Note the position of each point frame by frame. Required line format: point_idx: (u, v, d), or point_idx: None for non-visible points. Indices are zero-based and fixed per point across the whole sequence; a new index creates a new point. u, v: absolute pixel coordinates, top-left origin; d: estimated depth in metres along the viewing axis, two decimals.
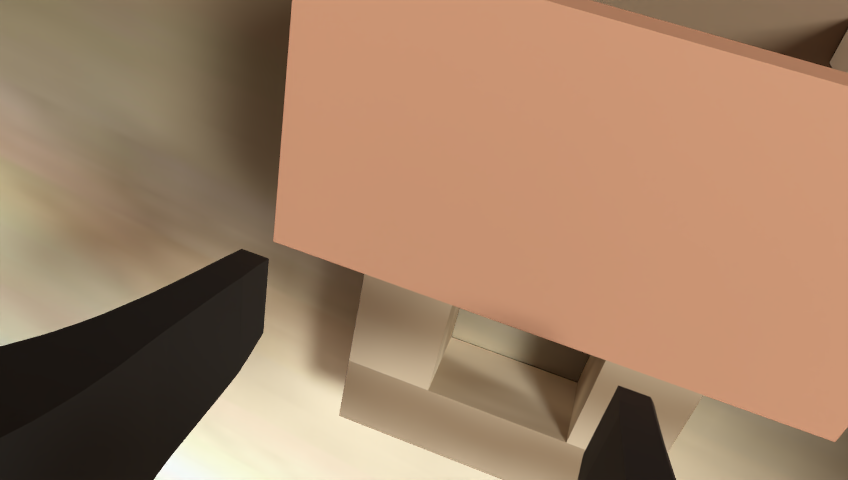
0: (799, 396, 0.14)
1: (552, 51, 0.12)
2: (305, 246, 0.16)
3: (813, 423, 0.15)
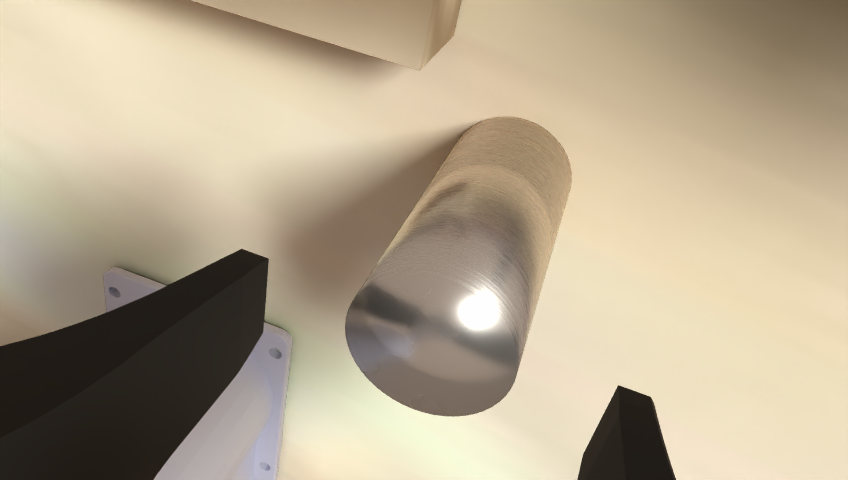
0: None
1: None
2: None
3: None
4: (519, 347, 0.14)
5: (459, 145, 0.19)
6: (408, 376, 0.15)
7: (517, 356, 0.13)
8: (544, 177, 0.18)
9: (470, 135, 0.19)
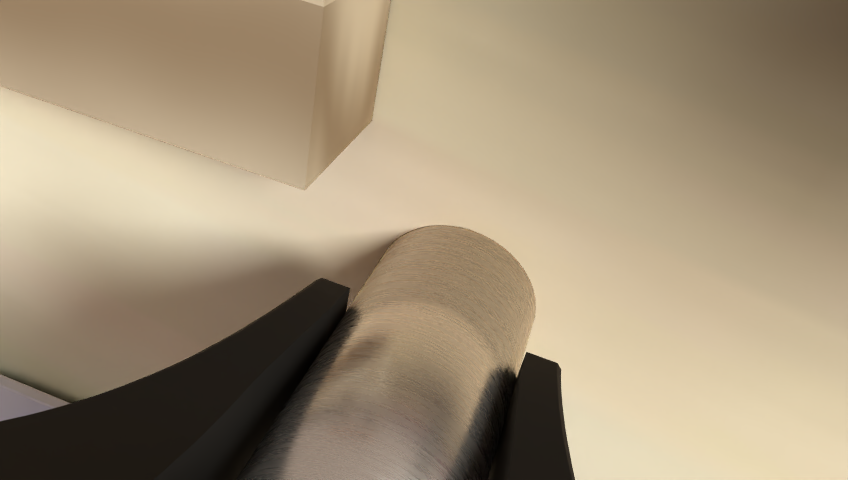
0: None
1: None
2: None
3: None
4: None
5: (380, 269, 0.14)
6: None
7: None
8: (489, 328, 0.13)
9: (396, 254, 0.14)
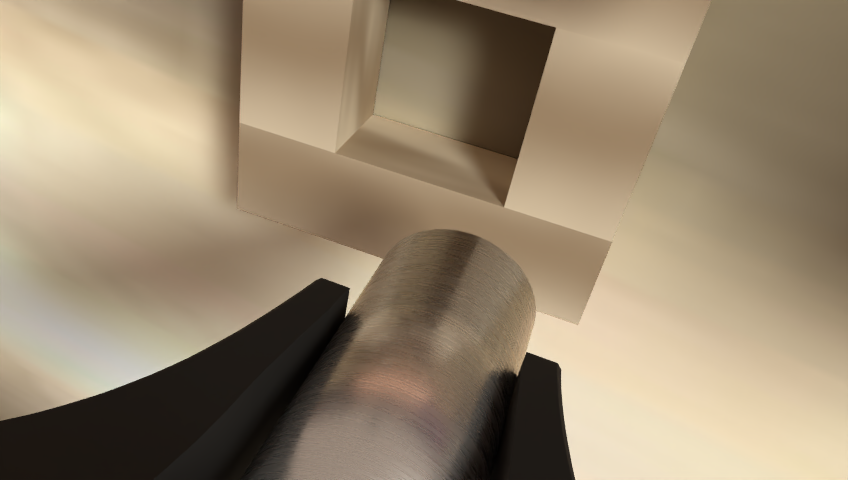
0: None
1: None
2: None
3: None
4: None
5: (378, 274, 0.14)
6: None
7: None
8: (487, 328, 0.13)
9: (393, 259, 0.14)
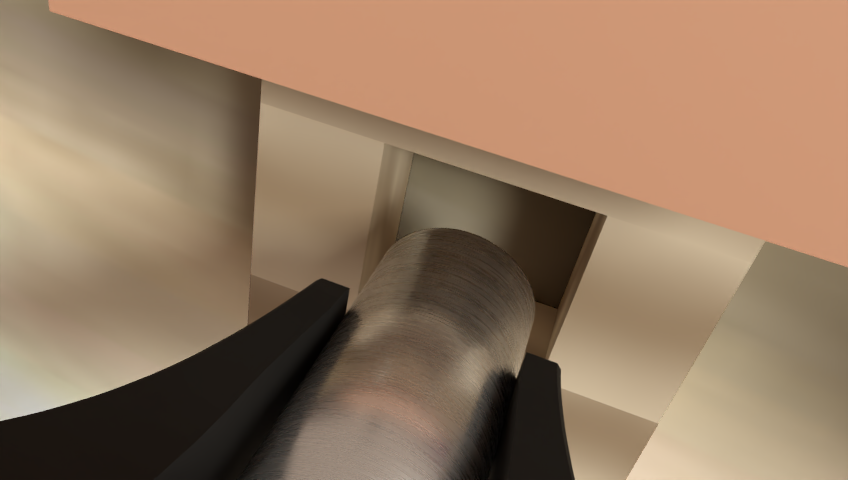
0: None
1: None
2: (97, 14, 0.10)
3: None
4: None
5: (376, 273, 0.14)
6: None
7: None
8: (485, 326, 0.13)
9: (392, 258, 0.14)
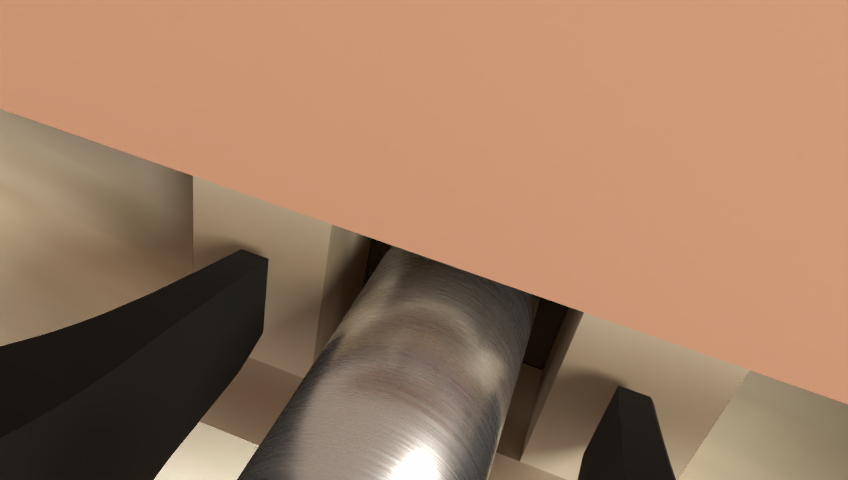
0: None
1: None
2: None
3: None
4: None
5: None
6: None
7: None
8: None
9: None
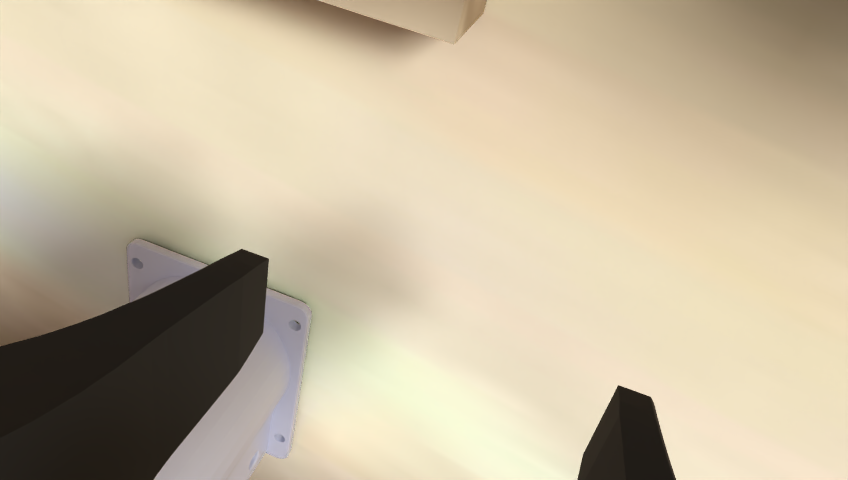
0: None
1: None
2: None
3: None
4: None
5: None
6: None
7: None
8: None
9: None
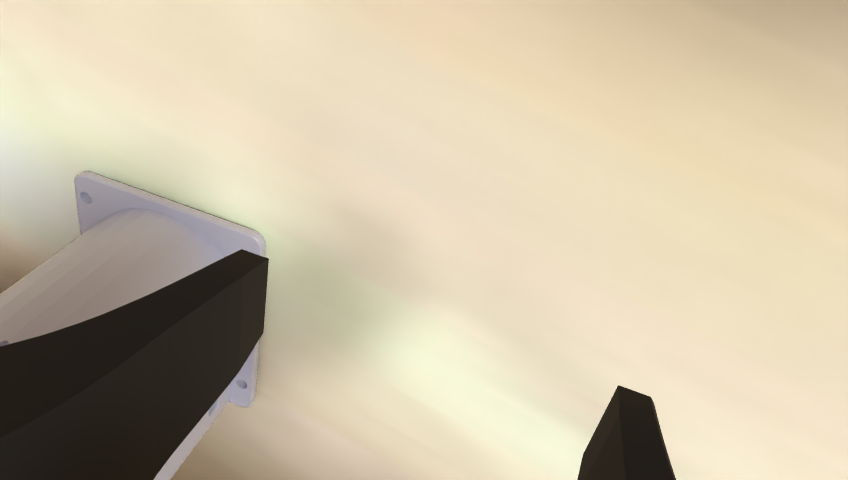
0: None
1: None
2: None
3: None
4: None
5: None
6: None
7: None
8: None
9: None
